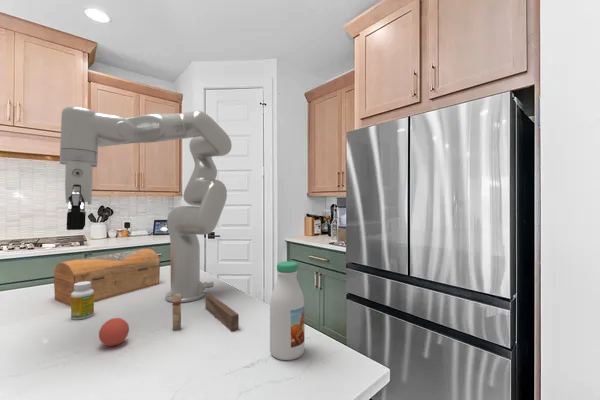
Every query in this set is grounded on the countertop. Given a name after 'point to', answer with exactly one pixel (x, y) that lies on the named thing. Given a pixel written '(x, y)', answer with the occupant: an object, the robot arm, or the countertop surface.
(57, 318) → the countertop surface
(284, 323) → the milk bottle
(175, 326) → the pin
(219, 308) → the wall
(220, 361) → the countertop surface
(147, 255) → the wooden box
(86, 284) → the supplement bottle
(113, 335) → the ball
